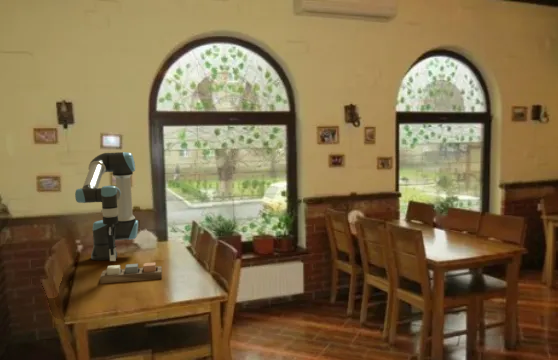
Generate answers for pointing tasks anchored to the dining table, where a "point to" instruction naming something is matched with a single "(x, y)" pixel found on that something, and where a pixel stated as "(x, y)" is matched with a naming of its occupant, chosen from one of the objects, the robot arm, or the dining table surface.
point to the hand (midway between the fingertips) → (112, 260)
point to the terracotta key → (149, 267)
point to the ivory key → (113, 270)
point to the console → (131, 276)
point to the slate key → (131, 268)
